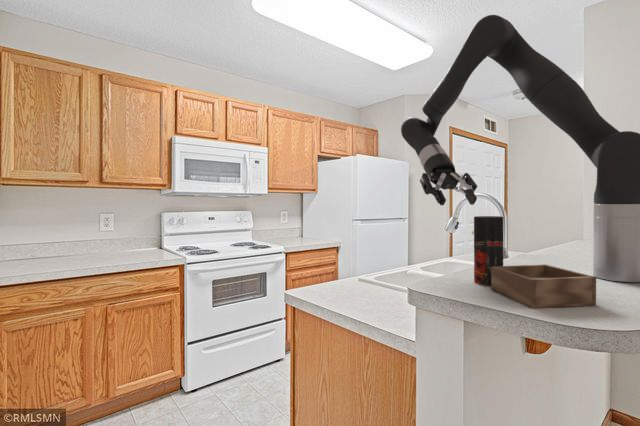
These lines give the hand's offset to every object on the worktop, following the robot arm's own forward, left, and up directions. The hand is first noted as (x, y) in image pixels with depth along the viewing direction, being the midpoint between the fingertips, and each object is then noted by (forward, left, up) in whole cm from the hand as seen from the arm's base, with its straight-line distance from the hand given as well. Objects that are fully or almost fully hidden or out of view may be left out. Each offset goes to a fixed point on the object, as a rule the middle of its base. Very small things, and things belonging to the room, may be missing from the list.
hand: (458, 202), depth 88 cm
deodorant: (-1, +12, -18) cm, 22 cm away
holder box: (-4, +24, -18) cm, 30 cm away
